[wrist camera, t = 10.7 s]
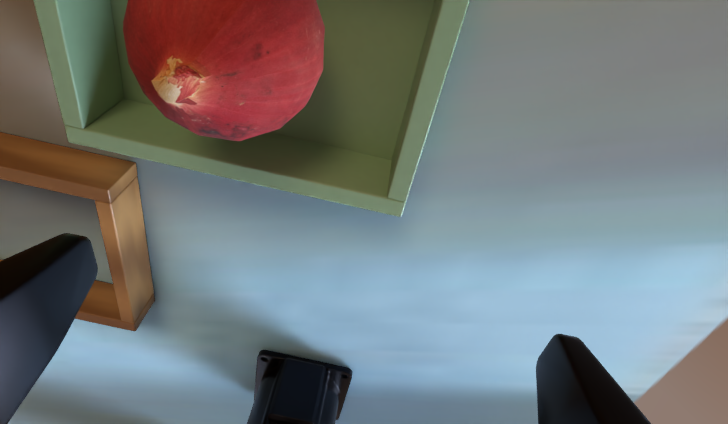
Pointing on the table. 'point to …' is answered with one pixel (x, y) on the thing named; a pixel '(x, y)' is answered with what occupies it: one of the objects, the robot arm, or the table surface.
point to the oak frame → (115, 212)
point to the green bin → (301, 133)
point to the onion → (226, 61)
